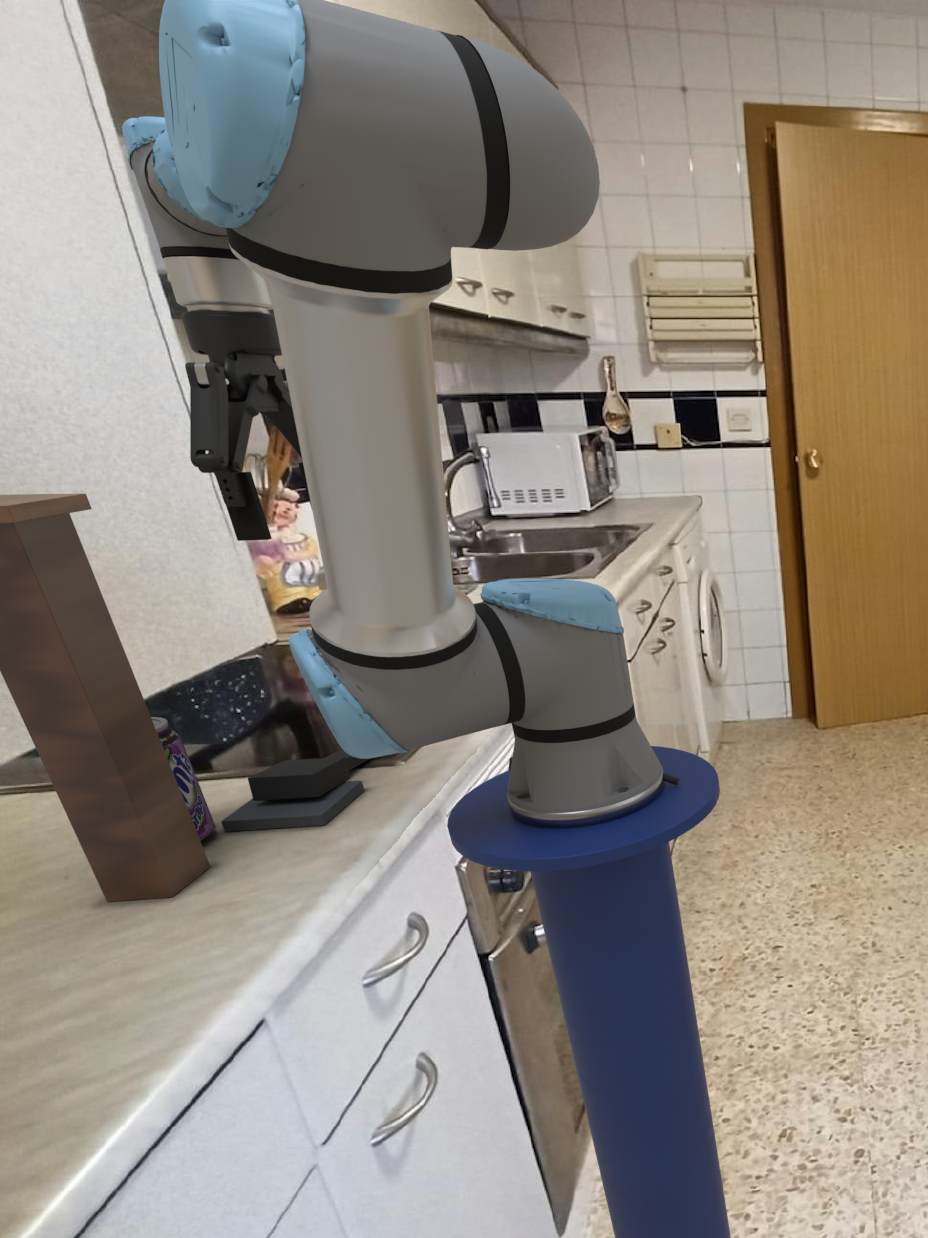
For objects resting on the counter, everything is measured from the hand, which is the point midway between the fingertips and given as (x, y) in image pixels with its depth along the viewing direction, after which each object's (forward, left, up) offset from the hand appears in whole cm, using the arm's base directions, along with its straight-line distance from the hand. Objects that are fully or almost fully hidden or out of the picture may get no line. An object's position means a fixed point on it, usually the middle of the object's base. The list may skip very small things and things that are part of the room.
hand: (295, 530), depth 92 cm
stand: (+3, +29, -26) cm, 39 cm away
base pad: (-1, +15, -26) cm, 30 cm away
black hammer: (-1, +9, -25) cm, 27 cm away
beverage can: (+7, +21, -26) cm, 35 cm away
